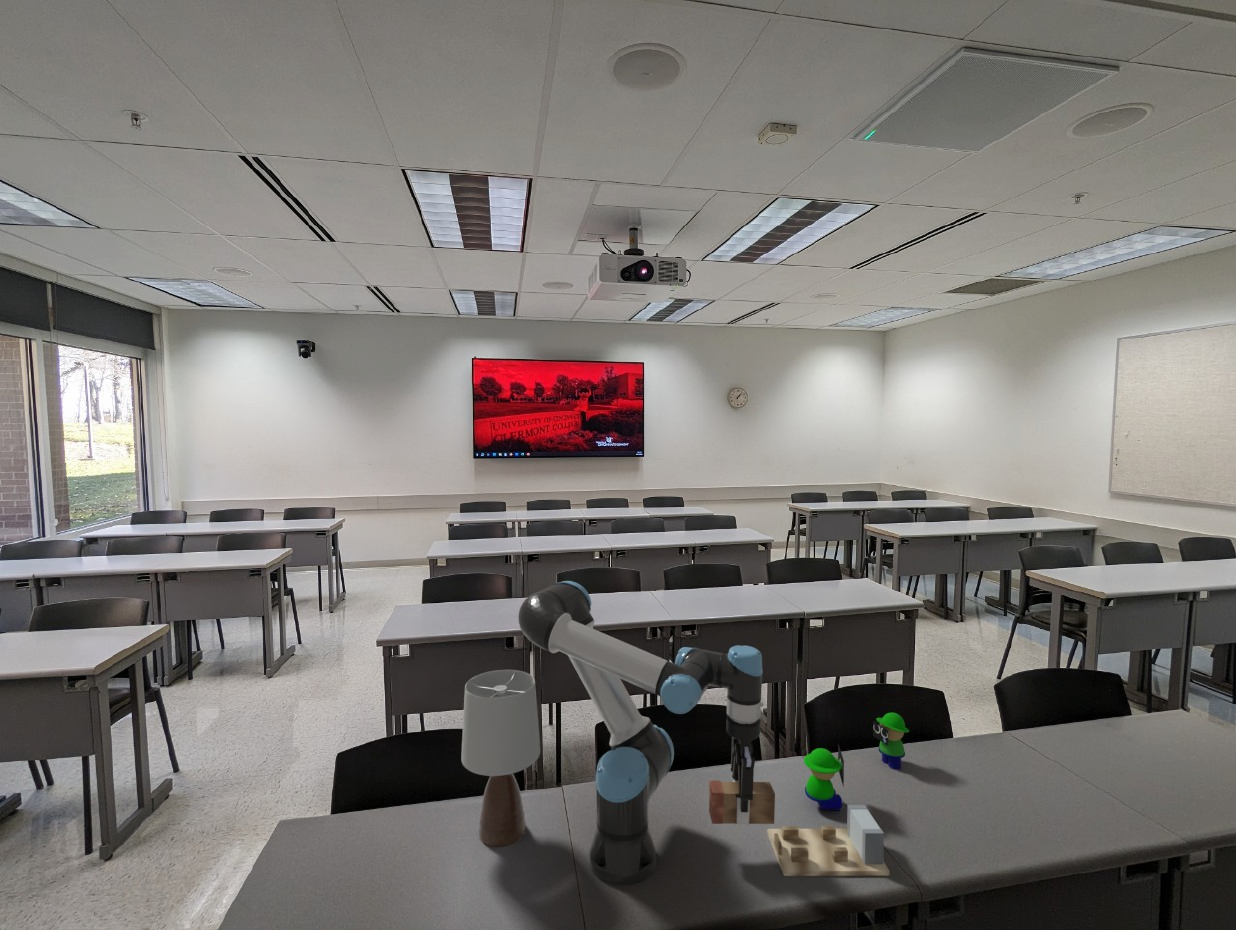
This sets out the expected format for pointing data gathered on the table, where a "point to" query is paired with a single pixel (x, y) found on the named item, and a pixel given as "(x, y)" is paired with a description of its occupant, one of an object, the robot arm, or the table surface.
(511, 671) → the lamp
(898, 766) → the toy
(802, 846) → the jig
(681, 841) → the table surface
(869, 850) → the pale blue brick
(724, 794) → the brown wooden block
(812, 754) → the toy
